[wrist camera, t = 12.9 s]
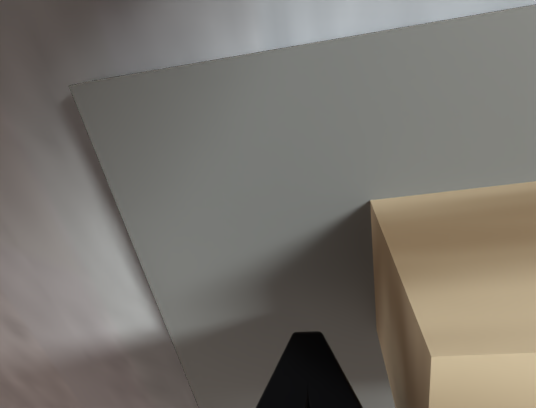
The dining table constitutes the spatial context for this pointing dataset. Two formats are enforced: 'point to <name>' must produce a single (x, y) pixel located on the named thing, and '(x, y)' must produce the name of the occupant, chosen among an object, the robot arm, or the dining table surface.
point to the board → (302, 181)
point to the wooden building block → (458, 296)
